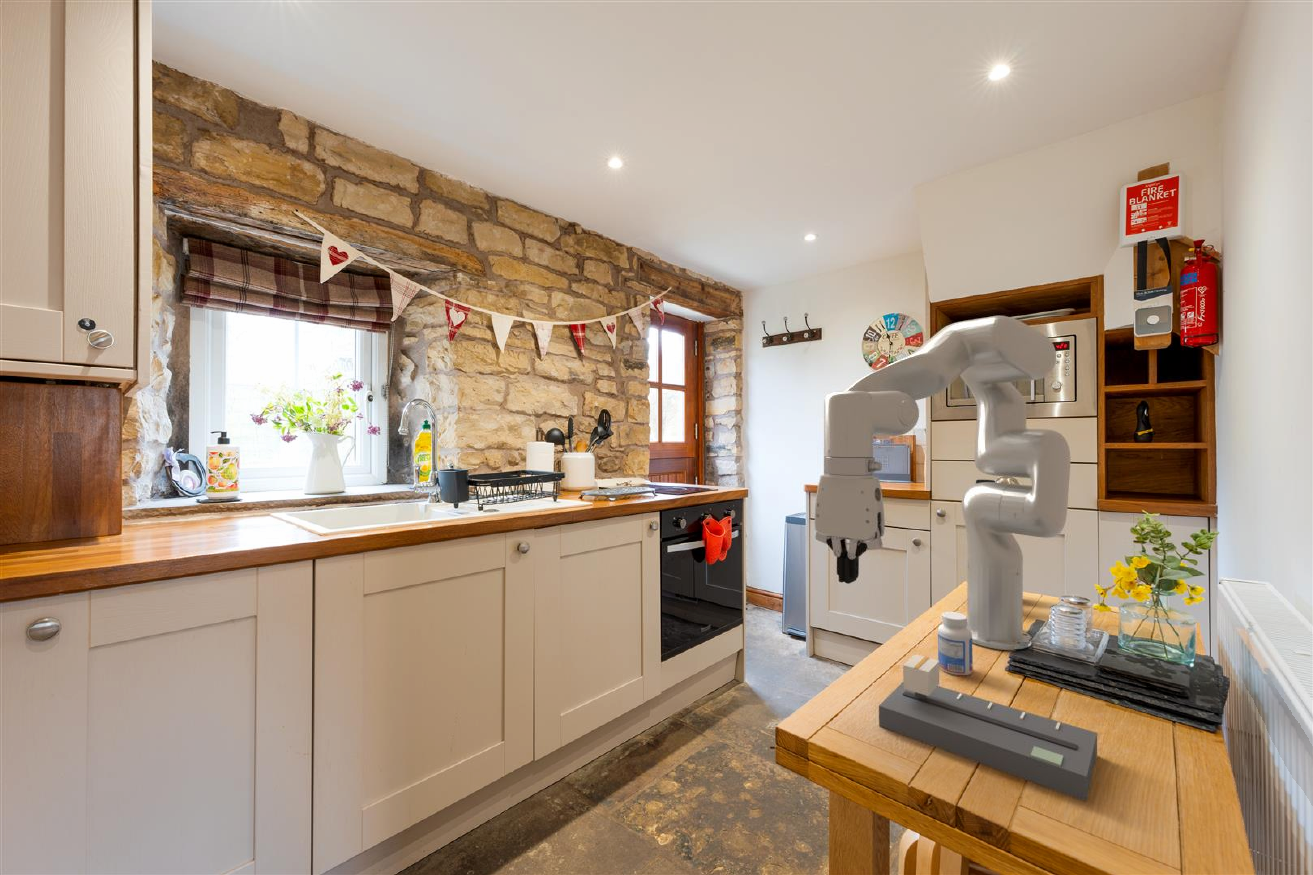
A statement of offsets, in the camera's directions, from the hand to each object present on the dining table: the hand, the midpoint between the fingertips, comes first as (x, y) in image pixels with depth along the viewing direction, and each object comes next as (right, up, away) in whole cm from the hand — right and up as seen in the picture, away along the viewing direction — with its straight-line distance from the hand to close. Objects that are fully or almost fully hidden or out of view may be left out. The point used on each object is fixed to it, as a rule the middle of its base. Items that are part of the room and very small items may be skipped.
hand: (847, 580), depth 89 cm
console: (+14, -19, -12) cm, 27 cm away
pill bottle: (+22, -18, +9) cm, 30 cm away
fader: (+9, -15, -7) cm, 19 cm away
